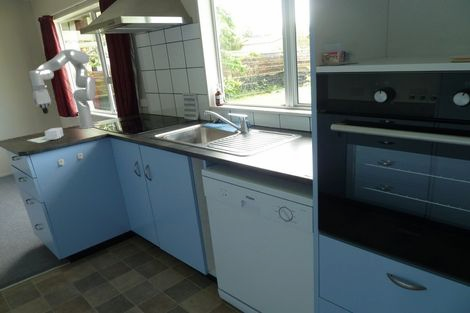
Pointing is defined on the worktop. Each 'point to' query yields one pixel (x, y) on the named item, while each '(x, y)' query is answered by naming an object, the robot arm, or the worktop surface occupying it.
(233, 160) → the worktop surface
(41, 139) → the mat
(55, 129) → the small box
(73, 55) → the robot arm
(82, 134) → the worktop surface
